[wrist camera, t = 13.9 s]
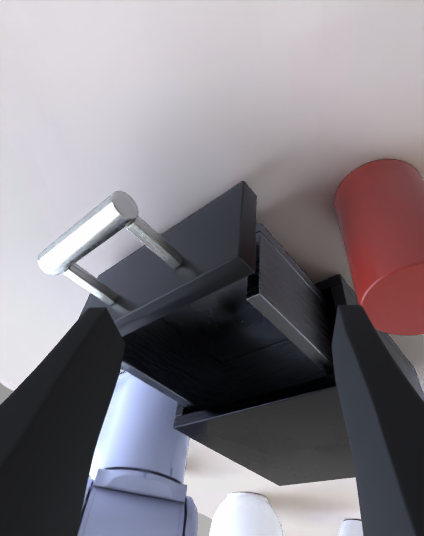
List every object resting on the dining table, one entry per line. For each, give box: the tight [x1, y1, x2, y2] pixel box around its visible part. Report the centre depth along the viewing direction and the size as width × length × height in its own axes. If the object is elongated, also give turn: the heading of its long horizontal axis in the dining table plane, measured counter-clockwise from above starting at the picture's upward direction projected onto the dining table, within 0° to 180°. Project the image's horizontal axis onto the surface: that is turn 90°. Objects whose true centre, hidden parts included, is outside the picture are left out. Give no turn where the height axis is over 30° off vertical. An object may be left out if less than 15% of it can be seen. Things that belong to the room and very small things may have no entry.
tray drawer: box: [38, 181, 336, 412], centre depth 21 cm, size 17×12×6 cm
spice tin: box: [334, 159, 424, 335], centre depth 17 cm, size 4×4×8 cm
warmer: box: [173, 274, 424, 486], centre depth 27 cm, size 14×14×8 cm
